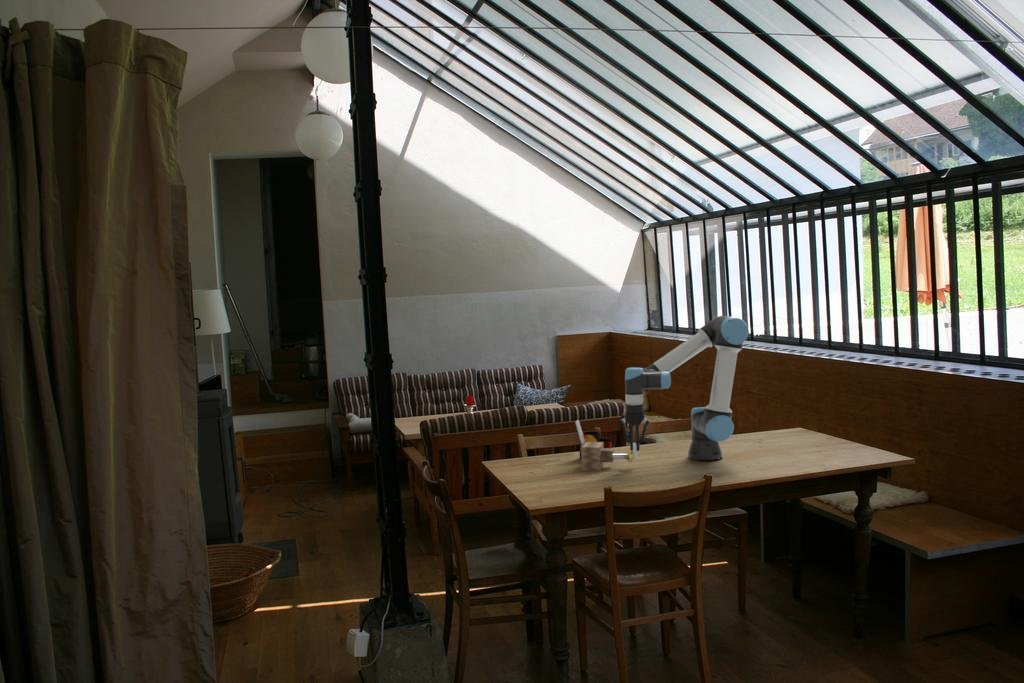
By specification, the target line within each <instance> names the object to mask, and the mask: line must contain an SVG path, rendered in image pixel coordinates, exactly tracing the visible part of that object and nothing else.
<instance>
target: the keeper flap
mask: <svg viewBox="0 0 1024 683" xmlns="http://www.w3.org/2000/svg"><path fill="white" fill-rule="evenodd" d="M574 423H575V426H576V430H577V432H578V433H577V434H578V438H579V437H580V440H581V444H582V443H584V442H585V440H584V437H583V433H582V432H583V430H582V426H581V422H580V420H579V419H577V420H576V421H575V422H574Z"/></svg>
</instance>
